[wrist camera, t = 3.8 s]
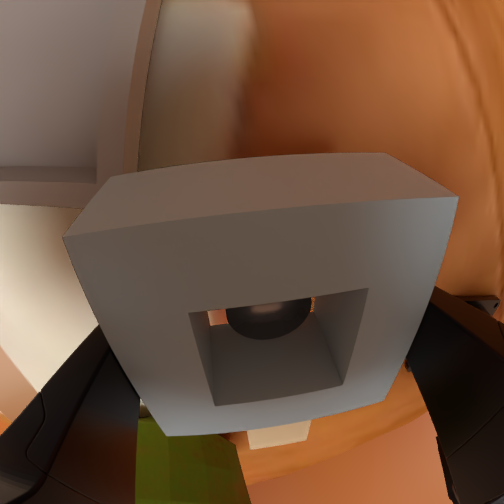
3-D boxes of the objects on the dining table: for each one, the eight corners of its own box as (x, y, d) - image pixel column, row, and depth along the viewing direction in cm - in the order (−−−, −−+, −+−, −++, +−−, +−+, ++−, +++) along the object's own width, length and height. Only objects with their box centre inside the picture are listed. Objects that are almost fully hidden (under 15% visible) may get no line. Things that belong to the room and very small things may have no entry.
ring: (110, 176, 7) (62, 236, 4) (385, 152, 7) (459, 196, 5) (180, 389, 11) (180, 454, 9) (346, 365, 12) (370, 423, 9)
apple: (98, 442, 21) (92, 549, 11) (99, 385, 16) (81, 551, 7) (215, 461, 24) (227, 561, 15) (263, 413, 19) (292, 556, 10)
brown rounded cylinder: (282, 205, 11) (322, 278, 7) (270, 255, 12) (298, 340, 9) (222, 197, 11) (233, 272, 7) (214, 250, 12) (221, 338, 8)
